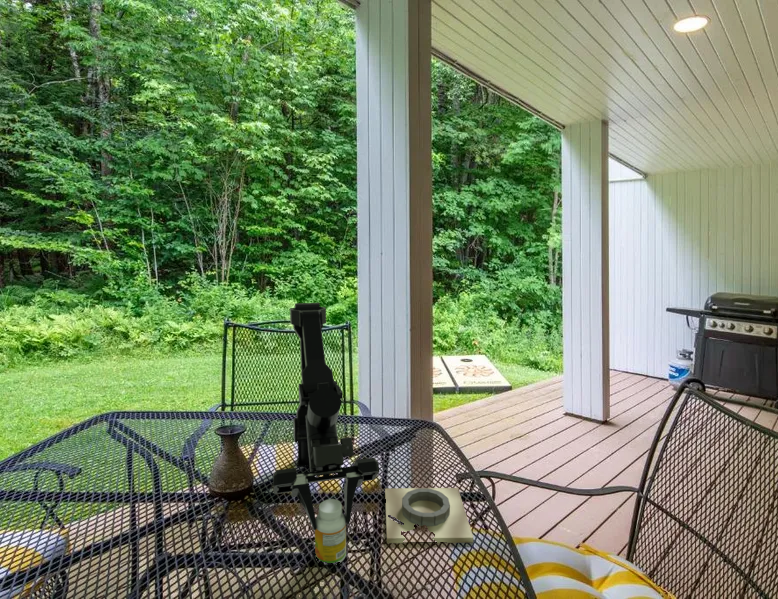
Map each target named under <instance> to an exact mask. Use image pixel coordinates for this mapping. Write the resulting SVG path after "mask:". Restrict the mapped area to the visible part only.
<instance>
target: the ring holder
mask: <svg viewBox="0 0 778 599" xmlns="http://www.w3.org/2000/svg"><path fill="white" fill-rule="evenodd" d="M384 497H385V499H386V503H385V525H386V528H385V529H386V530H385V531H386V532H385V533H386V544H404V543H403V541H404V540H405V539H406V538H405V537H404V536H403V535H401V531H404V532H407V531H410V530H413V529H415V527H414V525H415V524H418V525H419V526H423V525H426V526H427V528H428V530H429V531H430V532H433V533H434V534H435V537H434V538H432V540H433V539H434V540H435V541H437V543H436V544H441V543H440V542H447V543H446V544H448V543H449V544H451V543H452V544H453V543H455V544H456V543H458V544H459V543H466V544H467V543H474V535H473V531H472V529H471V525H470V523H469V519H468V516H467V514H466V510H465V506H464V502H463V501H462V497H461V494H460V490H459V487H420V488H419V487H413V488H412V487H409V488H408V487H406V488H405V487H403V488H401V487H398V488H397V487H396V488H395V487H393V488H384ZM388 515H391V516H393V517H395V518H396V519H398V520H400V521H401V522H403V523H404V525H401V524H398V523H397V522H395V521H393V520H391V519H390V518H389V517H388Z"/></svg>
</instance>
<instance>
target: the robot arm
mask: <svg viewBox="0 0 778 599" xmlns="http://www.w3.org/2000/svg"><path fill="white" fill-rule="evenodd" d="M289 319H290V320H289V322H290V324H291V325H292V328H293V330H294V332H295V334H296V335H297V337H298V338H299V346H300V350H299V351H300V369H301V371H300V372H301V373H300V374H301V376H300V377H301V382H300V383H298V400H299V404H298V405H297V408H296V409H295V410H296V411H295V412H296V413H295V414H296V417H294V418H293V427H292V428H293V438H294V440H293V441H294V443H295V444H296V443H297V460H296V466H297V467H309V471H307V472H299V473H297V468H296V467H292V468H282V469H276V470H275V472H274V473H273V475H272V476H273V480H272V481H273V482H272V483H273V494H274V495H275V494H276V495H279V494H286V493H287V494H288V493H291V494H290V495H291V497H297V499H298V500H299V502H300V504H301V505H302V507H303V509H304V511H305V513H306V516H307V518H308V520H309V523H310V525H311V528H312V529H313V531H315V530H316V514H315V509H314V505H313V500H312V494H311V485H310V484H313V483H319V482H327V481H334V480H341V479H345V484H344V486H343V492H344V493H343V497H344V515H345V518H346V526H347V525H349V524H350V521H351V518H352V517H351V515H352V510H353V509H352V508H353V502H354V498H355V494H356V489H357V488H359V487H361V485H362V483H364V482H369V481H371V482H372V481H373V480H376V478H377V476H378V475H379V474H380V472H381V471H380V466H379V462H378V460H377V459H376V458H375V457H370V458H369V457H367V458H361V459H359V458H358V459H356V460H355V462H354V464H353V465H351V466H350V465H349V466H344V458H345V457H347V458H348V457H353V456H354V444H353V439H352V438H353V437H341V438H340V443H339V437H338V430H337V428H338V427H337V421H338V417H339V414H340V410H341V407H342V399H343V398H344V396H343V395H344V394H343V391H342V389H341V387H340V386H339V384H338V382H337V381H336V380H335V379H334V373H333V370H332V368H331V367H329V365H328V364H326V356H325V349H324V341H323V332H322V331H323V327H324V325H325V324H327V308H326V306H321V304H320V302H300V303H297V302H296V303H294V307H290V308H289ZM342 466H343V467H342Z"/></svg>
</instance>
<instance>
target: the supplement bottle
mask: <svg viewBox="0 0 778 599" xmlns="http://www.w3.org/2000/svg"><path fill="white" fill-rule="evenodd" d="M315 519H316V530H314V546H315V548H314V549H315V552H314V553H315V554H316V555H315V558H316V557H317V558H318V559H319V560H320V561H322V562H327V563H335V562H340V563H342V562H343V561H344V560H345V558H346V555H347V524H346V518H345V513H343V505H342V502H341V501H340V500H338V499H335V498H329V499H325V500H323V501H321V502H320V503H319V505H318V514H317V516H315Z"/></svg>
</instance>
